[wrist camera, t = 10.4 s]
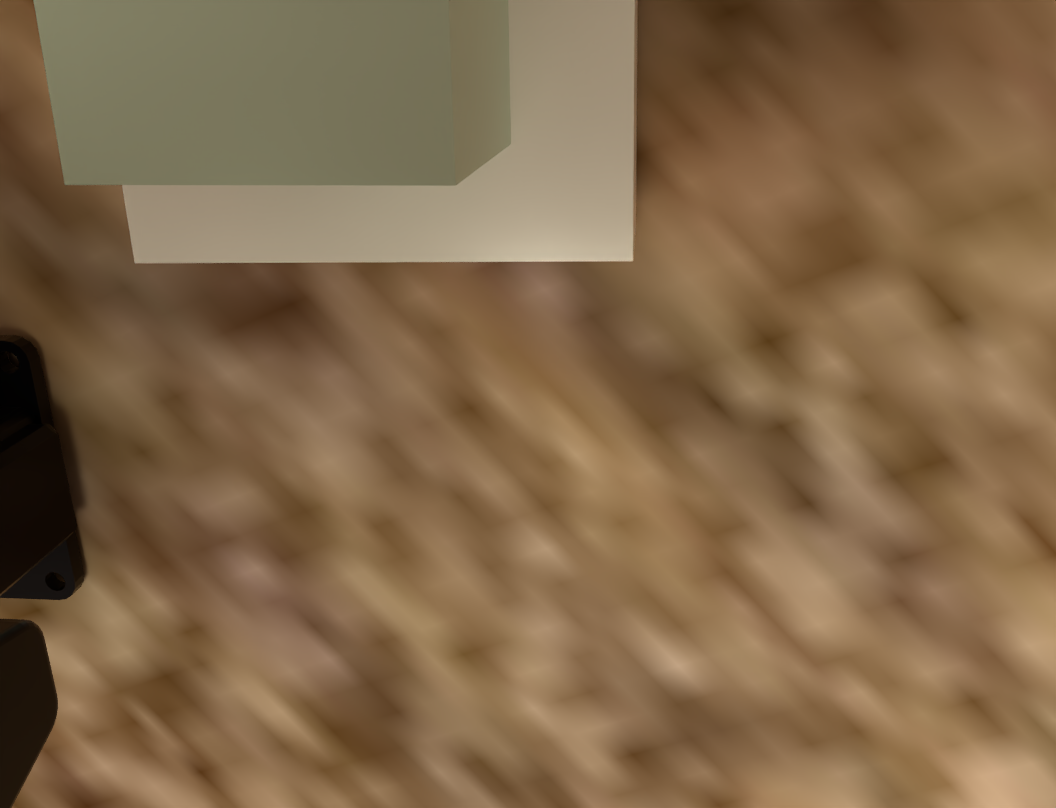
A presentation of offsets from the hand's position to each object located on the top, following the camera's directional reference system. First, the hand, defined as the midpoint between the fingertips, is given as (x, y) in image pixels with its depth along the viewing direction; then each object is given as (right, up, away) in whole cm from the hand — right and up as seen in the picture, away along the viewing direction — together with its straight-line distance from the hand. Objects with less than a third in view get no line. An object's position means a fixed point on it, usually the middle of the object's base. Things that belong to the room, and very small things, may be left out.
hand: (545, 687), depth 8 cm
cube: (-3, +9, +8) cm, 12 cm away
